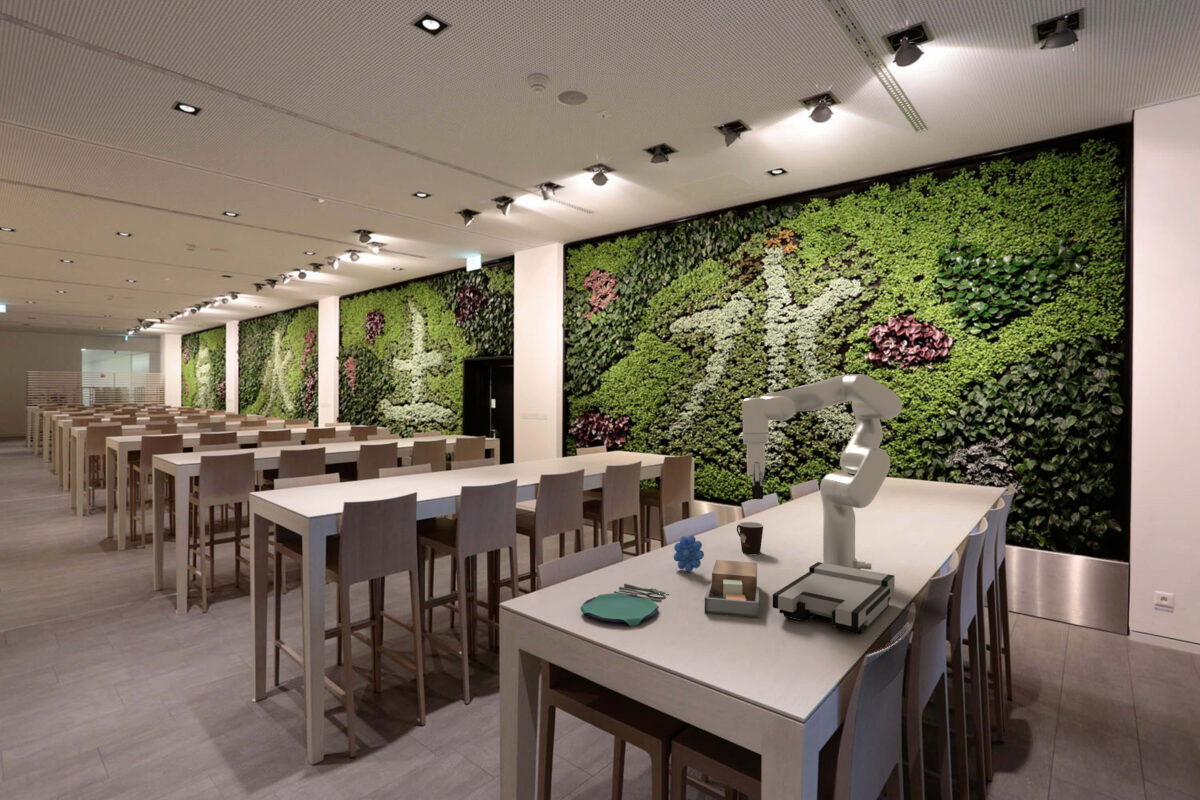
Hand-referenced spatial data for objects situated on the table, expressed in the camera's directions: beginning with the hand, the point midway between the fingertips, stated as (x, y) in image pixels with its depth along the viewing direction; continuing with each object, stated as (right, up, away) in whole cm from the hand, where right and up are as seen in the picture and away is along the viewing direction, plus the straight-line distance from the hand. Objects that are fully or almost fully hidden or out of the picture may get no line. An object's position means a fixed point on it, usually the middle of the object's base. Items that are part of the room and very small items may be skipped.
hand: (757, 498), depth 184 cm
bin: (-12, -26, -22) cm, 36 cm away
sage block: (-11, -22, -16) cm, 30 cm away
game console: (+14, -26, -25) cm, 39 cm away
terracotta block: (-12, -22, -24) cm, 35 cm away
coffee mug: (+6, -25, +35) cm, 44 cm away
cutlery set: (-40, -26, -20) cm, 52 cm away
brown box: (-9, -26, -9) cm, 28 cm away
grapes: (-19, -25, +11) cm, 34 cm away
